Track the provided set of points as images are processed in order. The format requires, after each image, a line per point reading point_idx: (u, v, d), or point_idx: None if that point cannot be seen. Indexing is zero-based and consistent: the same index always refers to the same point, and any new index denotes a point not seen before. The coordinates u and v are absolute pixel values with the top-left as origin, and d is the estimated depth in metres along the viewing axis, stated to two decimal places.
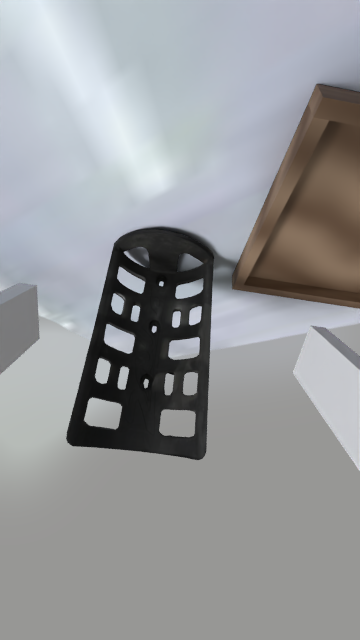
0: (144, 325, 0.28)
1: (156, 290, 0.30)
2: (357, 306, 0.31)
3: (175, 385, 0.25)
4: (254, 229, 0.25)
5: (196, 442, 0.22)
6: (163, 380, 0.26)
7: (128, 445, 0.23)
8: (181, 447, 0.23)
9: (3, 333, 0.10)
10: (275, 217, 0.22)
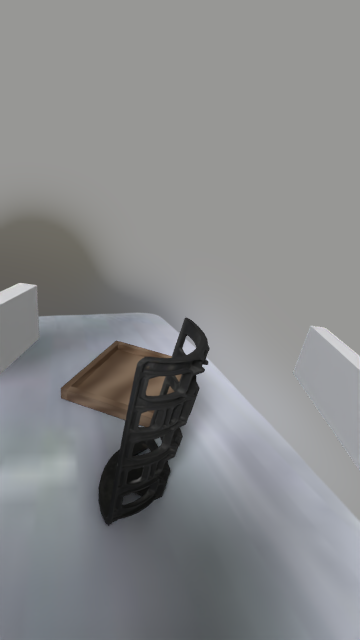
0: None
1: None
2: None
3: None
4: (123, 416, 0.40)
5: (184, 328, 0.29)
6: None
7: None
8: (194, 332, 0.28)
9: (3, 333, 0.10)
10: (110, 400, 0.41)
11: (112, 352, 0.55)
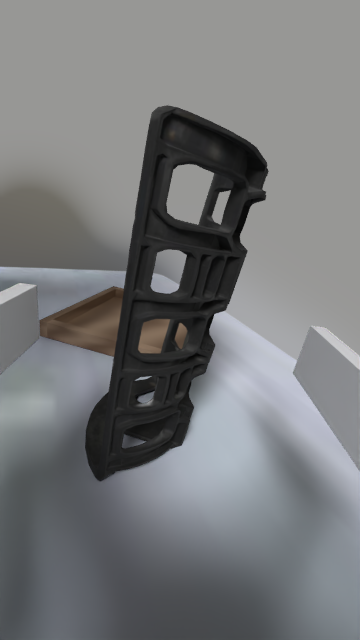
0: None
1: None
2: None
3: None
4: None
5: (215, 181, 0.19)
6: None
7: None
8: None
9: (3, 333, 0.10)
10: (105, 334, 0.30)
11: (108, 297, 0.45)
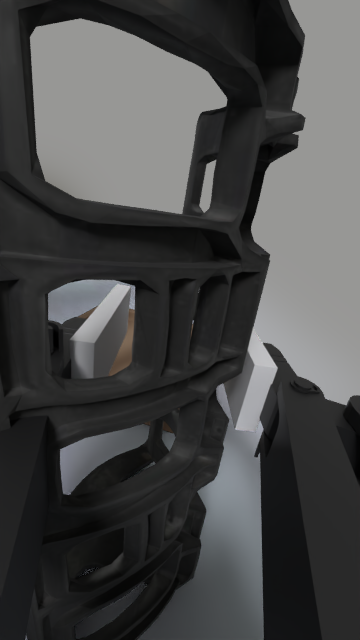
0: None
1: None
2: None
3: None
4: None
5: (198, 147, 0.11)
6: None
7: None
8: None
9: (118, 326, 0.12)
10: None
11: None
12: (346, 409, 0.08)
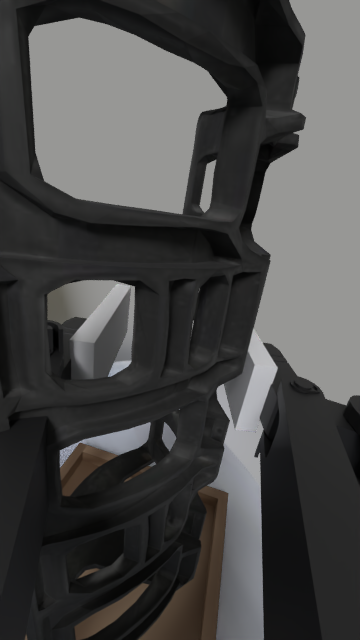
0: None
1: None
2: (222, 521, 0.26)
3: None
4: None
5: (198, 147, 0.11)
6: None
7: None
8: None
9: (118, 326, 0.12)
10: None
11: (69, 475, 0.29)
12: (346, 409, 0.08)
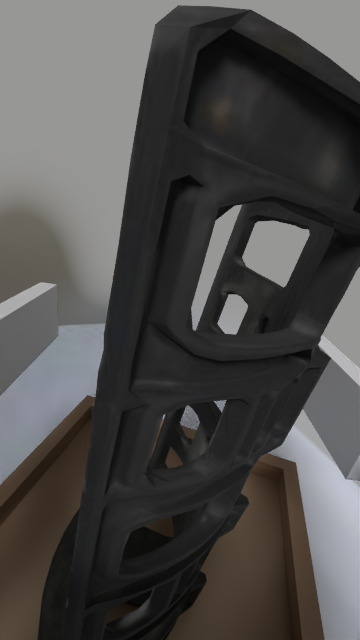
0: None
1: None
2: (297, 500, 0.18)
3: (251, 329, 0.12)
4: None
5: (250, 204, 0.12)
6: None
7: None
8: None
9: (29, 330, 0.11)
10: None
11: (73, 433, 0.21)
12: None
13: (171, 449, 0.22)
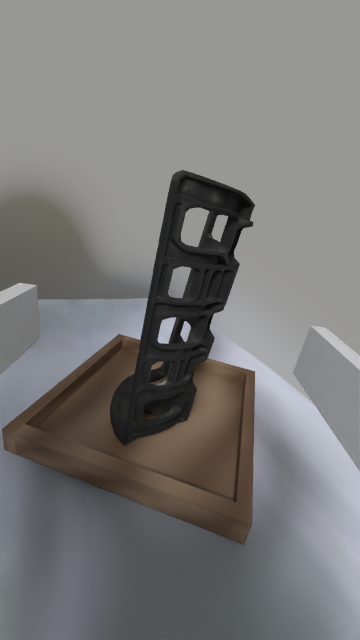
0: None
1: None
2: (252, 385, 0.29)
3: None
4: (136, 496, 0.18)
5: None
6: None
7: None
8: None
9: (3, 333, 0.10)
10: (108, 458, 0.19)
11: (112, 353, 0.33)
12: None
13: None
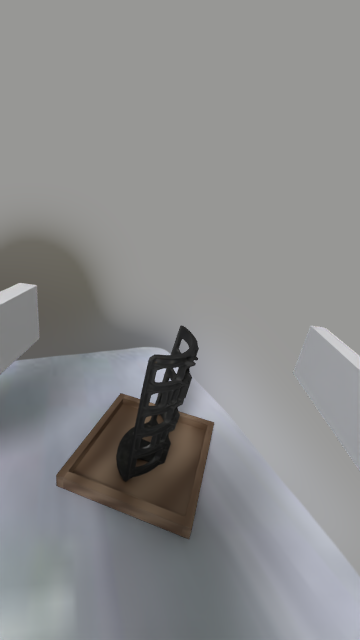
0: None
1: None
2: (209, 435, 0.44)
3: None
4: (132, 513, 0.33)
5: (179, 333, 0.38)
6: None
7: None
8: (187, 336, 0.37)
9: (3, 333, 0.10)
10: (116, 492, 0.33)
11: (116, 410, 0.48)
12: None
13: (160, 417, 0.48)
